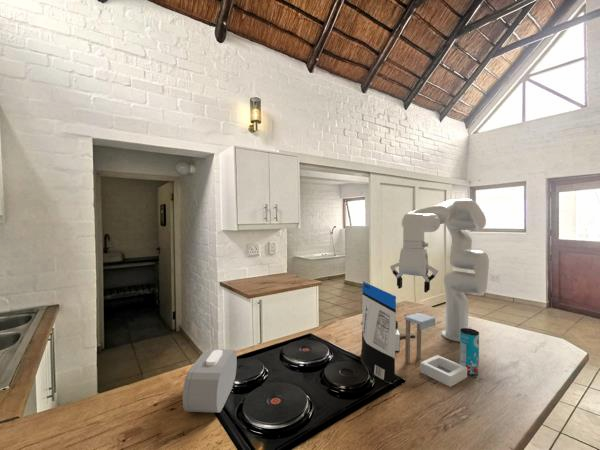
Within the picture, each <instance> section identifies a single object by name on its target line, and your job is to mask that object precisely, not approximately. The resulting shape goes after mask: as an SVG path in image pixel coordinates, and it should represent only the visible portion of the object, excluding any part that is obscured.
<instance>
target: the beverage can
mask: <svg viewBox="0 0 600 450" xmlns="http://www.w3.org/2000/svg"><path fill="white" fill-rule="evenodd" d="M479 362H480V331H478V330H476V329H473V328H471V329H469V328H462V329H460V342H459V364H460V365H463V366H465V367H467V376H468V375H469V376H477V375H479V373H480V372H479V367H480V363H479Z"/></svg>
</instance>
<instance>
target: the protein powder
mask: <svg viewBox="0 0 600 450" xmlns="http://www.w3.org/2000/svg"><path fill="white" fill-rule="evenodd" d="M396 300H397V296H396V295H394V294H392V293H390V292H387V291H385V290H383V289H381V288H378V287H377V286H374V285H373V284H369V283H367V282H365V281H362V303H361V304H362V308H361V309H362V311H361V312H362V314H361V316H362V317H361V319H362V320H361V324H362V327H361V328H362V329H361V333H362V334H361V353H360V358H361V359H360V362H361V363H362V364H361V363H360V364H361V366H362V365H363V366H364V367H366V368H367V369H368V370H369V372H370V374H369V375H371V376H372V375H373V376H372V377H374V378H376V379H377V378H378V379H377V380H379V379H380V380H379V381H381V380H383V381H387V382H391V383H393V384H394V386H395V387H396V379H395V378H396V376H395V375H396V371H395V370H396V369H395V368H396V367H395V366H396V364H395V363H396V351H395V331H396V321H397V318H396V317H397V316H396V314H397V301H396ZM363 366H362V367H363ZM364 367H363V368H364ZM383 381H382V382H383ZM394 386H393V387H394Z"/></svg>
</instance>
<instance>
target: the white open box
mask: <svg viewBox="0 0 600 450" xmlns="http://www.w3.org/2000/svg"><path fill="white" fill-rule="evenodd" d="M404 320H405V329H406V338H405V354H404V355H405V357H404V360H405V362H404V363H406V364H407V365H408V364H410V363H411V338H410V333H411V322H412V323H413V324H416V353H415V354H416V359H419V360H420V359H422V330H426V329H428V328H432V327H435V326H436V317H435V316H431V315H429V314H425V313H421V312H416V313H413V314H410V315H409V314H408V315H405V316H404ZM419 369H420V372H419V373H421V374H423V375H426V376H427V377H430V378H432V379H434V380H435V381H438V382H439V383H441V384H444V386H445V385H446V386H447V387H449V388H451V387H452V386H454V385H456V384H458V383H460V382H462V381H464V380H465V379H466V378H468V374H467V367H465V366H463V365H460V363H457V362H455V361H453V360H450V359H448V358H445V357H443V356H441V355H438V354H436V355H434V356H432V357H430V358H427V359H425V360H422V361H421V362H420V368H419Z"/></svg>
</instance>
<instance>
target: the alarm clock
mask: <svg viewBox="0 0 600 450" xmlns="http://www.w3.org/2000/svg"><path fill="white" fill-rule="evenodd" d="M237 358H238V357H237V351H236V349H221V348H220V349H219V348H218V349H217V348H216V349H215V348H207V349H205V350H204V351H203V352H202V353H201V354H200V356H199V357H198V358H197V360H196V361H195V362H194V363H193V365H191V367H190V368H189V370H188V371H187V373H186V376H185V378H184V383H183V388H182V401H181V402H182V407H183V410H184V411H185V412H192V413H214V414H215V413H217V414H218V413H221V412H222V410H223V408H224V406H225V404H226V402H227V400H228V398H229V396H230V393H231V392H232V389H233V387H234V384H233V382H234V383H235V381H236V375H237V366H238V365H237V363H238V361H237ZM234 380H235V381H234Z"/></svg>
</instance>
